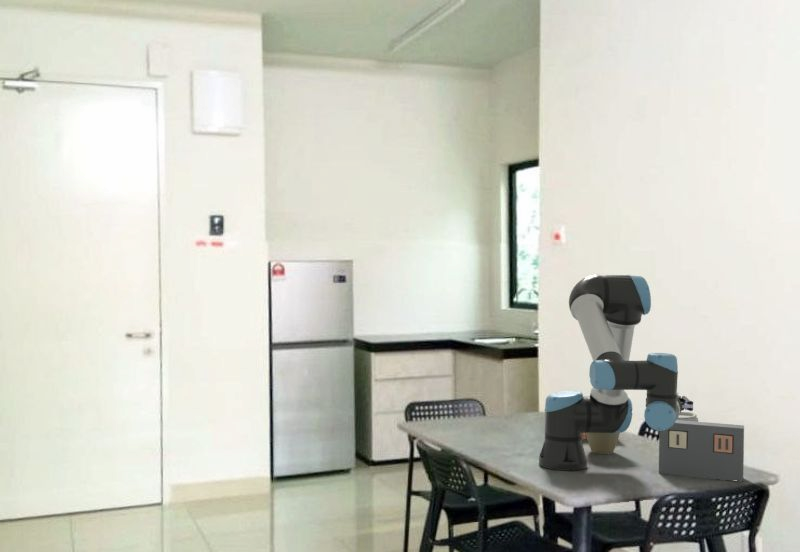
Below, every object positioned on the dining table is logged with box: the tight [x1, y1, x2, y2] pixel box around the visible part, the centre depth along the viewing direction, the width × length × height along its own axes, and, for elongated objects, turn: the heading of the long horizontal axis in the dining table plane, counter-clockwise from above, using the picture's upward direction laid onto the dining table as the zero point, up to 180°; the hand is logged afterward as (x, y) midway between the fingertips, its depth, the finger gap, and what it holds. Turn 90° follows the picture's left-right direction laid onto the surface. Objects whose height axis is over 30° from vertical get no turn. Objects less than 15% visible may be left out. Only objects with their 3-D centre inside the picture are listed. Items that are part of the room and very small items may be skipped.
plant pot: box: [586, 433, 620, 455], centre depth 286 cm, size 15×15×16 cm
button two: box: [714, 434, 733, 453], centre depth 249 cm, size 3×5×5 cm, turn 65°
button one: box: [669, 430, 687, 449], centre depth 254 cm, size 3×5×5 cm, turn 66°
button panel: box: [658, 420, 745, 482], centre depth 253 cm, size 6×24×16 cm, turn 66°
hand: (675, 396), depth 245 cm, fingers closed
